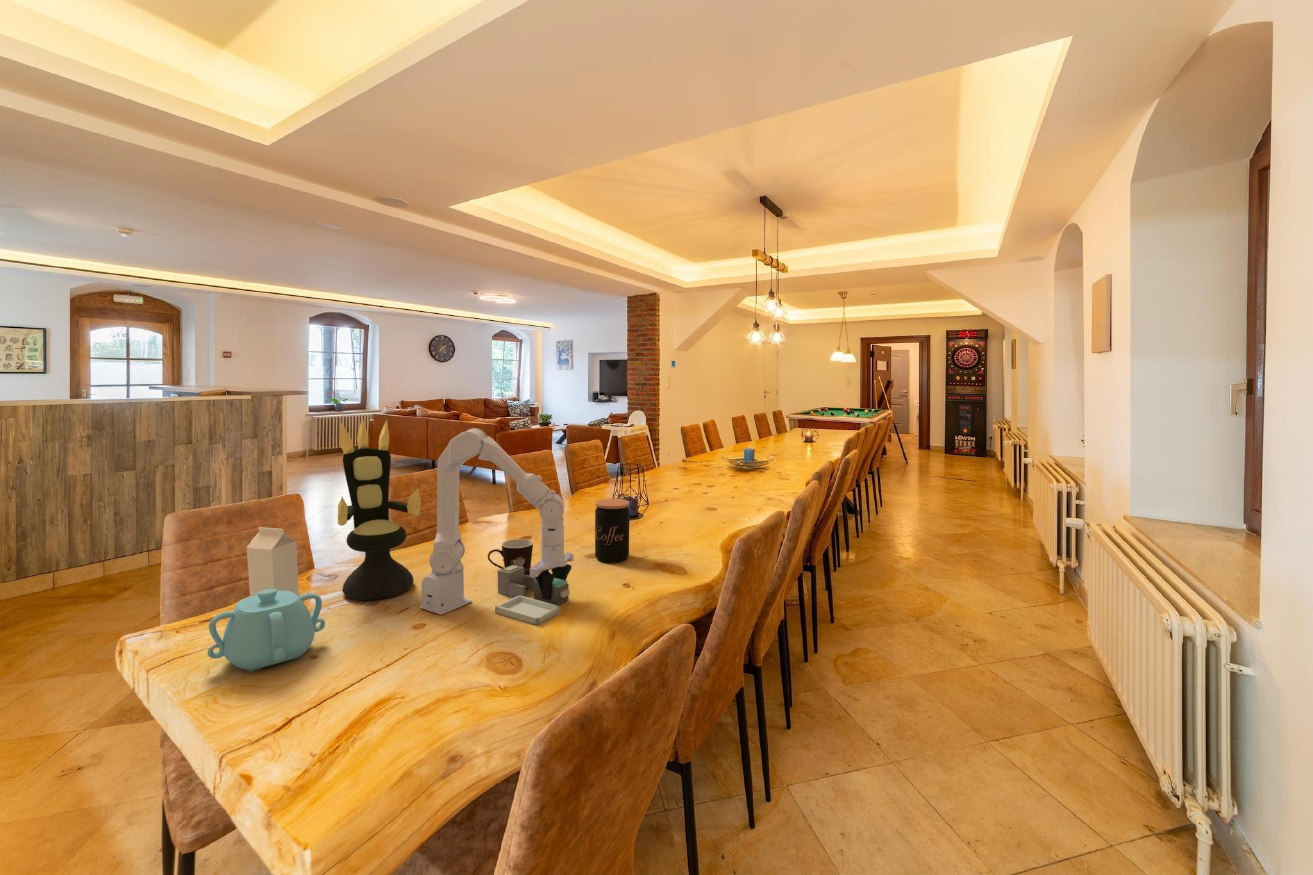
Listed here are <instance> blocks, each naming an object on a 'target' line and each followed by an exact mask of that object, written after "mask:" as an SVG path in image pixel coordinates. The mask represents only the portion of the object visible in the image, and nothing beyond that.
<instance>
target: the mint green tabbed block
mask: <svg viewBox="0 0 1313 875" xmlns="http://www.w3.org/2000/svg"><path fill="white" fill-rule="evenodd" d="M569 585H570V584H569V583H568V580H567V579H566V580H562V579H558V578H554V580H553V584H552V594H551V599H550V600H546V599H543V597H542V594H541V590H540V587H539V585H538V582H537V580H536V579H535V582H534V591H533V599H535V600H539V601H543V602H546V603H550V604H554V605H557V606H560V607H562V606H563V605H565V604H567V603H568V602H567V601H569V600H570V598H569V597H570V596H569V595H570V591H571V590H570V589H569ZM566 602H567V603H566ZM569 602H570V601H569ZM564 603H565V604H564ZM562 604H563V605H562Z"/></svg>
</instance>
